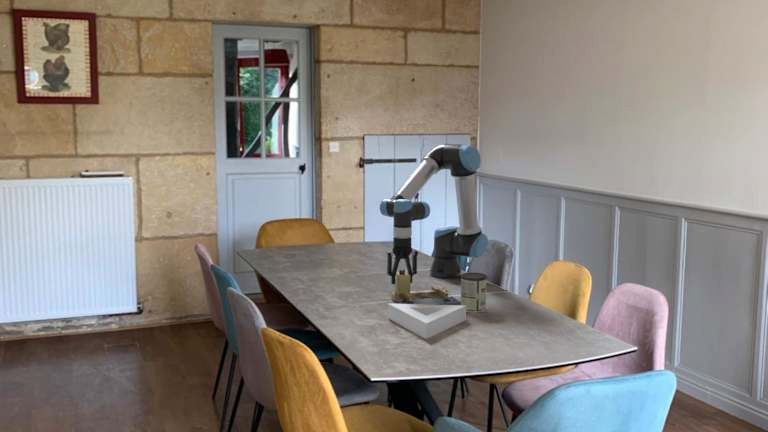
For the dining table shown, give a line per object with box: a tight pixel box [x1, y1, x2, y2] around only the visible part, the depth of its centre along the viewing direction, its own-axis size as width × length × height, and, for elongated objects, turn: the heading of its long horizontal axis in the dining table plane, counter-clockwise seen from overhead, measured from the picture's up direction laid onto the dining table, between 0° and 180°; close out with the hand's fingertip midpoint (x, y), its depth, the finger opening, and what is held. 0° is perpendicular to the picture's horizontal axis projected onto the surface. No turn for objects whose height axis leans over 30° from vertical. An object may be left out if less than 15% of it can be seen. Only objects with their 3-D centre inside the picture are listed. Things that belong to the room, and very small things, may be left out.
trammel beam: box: [390, 285, 449, 302], centre depth 328 cm, size 24×14×4 cm, turn 107°
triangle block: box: [387, 303, 467, 340], centre depth 295 cm, size 30×26×6 cm
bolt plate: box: [395, 295, 461, 305], centre depth 322 cm, size 25×10×2 cm, turn 107°
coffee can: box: [460, 272, 488, 314], centre depth 315 cm, size 10×10×14 cm
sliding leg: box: [396, 268, 412, 302], centre depth 325 cm, size 5×15×11 cm, turn 17°
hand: (401, 291), depth 329 cm, fingers closed on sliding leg, 5 cm apart
